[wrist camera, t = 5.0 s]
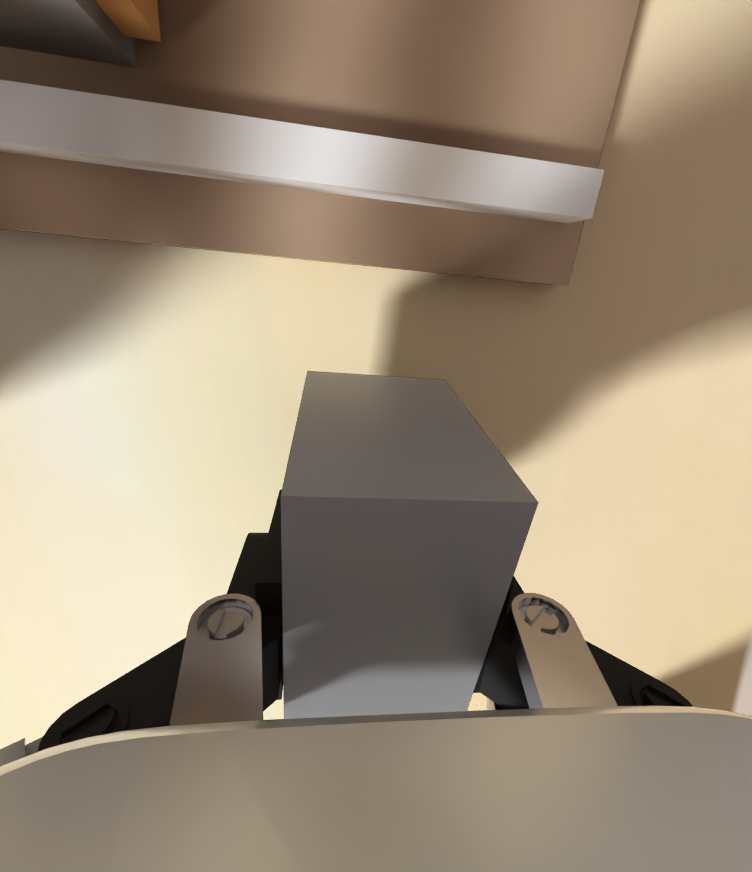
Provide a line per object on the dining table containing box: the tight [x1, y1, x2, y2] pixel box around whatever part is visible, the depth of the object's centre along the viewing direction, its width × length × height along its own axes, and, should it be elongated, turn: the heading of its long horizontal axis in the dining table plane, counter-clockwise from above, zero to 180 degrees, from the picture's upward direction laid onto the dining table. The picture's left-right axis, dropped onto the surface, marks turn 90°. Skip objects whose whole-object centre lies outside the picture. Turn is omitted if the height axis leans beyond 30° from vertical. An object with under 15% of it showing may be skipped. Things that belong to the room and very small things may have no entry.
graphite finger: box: [281, 371, 538, 719], centre depth 10 cm, size 4×8×6 cm, turn 175°
